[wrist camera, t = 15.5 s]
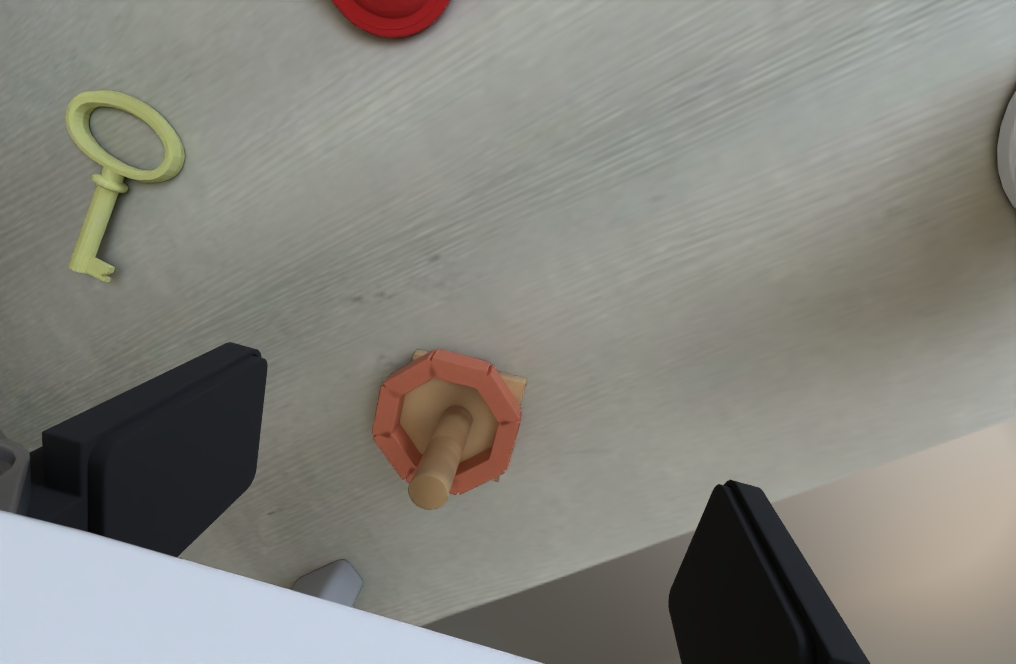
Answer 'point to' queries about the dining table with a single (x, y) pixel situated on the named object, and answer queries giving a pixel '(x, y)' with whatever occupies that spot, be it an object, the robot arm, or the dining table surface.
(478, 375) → the ring
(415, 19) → the tracker holder
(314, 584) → the power adapter
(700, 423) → the dining table surface
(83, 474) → the robot arm
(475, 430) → the peg stand
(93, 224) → the key
